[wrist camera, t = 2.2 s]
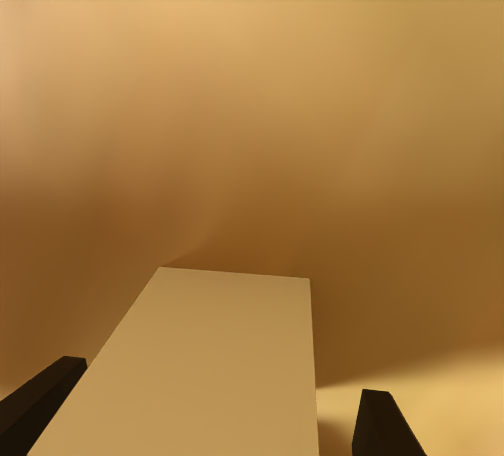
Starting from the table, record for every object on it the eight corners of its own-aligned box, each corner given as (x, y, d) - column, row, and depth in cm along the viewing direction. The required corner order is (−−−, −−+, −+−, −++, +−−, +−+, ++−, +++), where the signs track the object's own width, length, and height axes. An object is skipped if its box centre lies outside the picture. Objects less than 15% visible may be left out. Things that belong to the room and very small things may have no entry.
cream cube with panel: (170, 377, 13) (54, 655, 7) (159, 266, 11) (-14, 511, 5) (298, 391, 13) (298, 703, 6) (309, 277, 11) (324, 563, 5)
